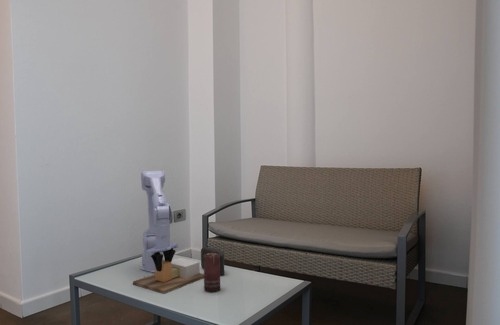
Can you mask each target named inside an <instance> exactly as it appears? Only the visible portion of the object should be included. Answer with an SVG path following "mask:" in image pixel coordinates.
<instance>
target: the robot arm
mask: <svg viewBox="0 0 500 325" xmlns="http://www.w3.org/2000/svg"><path fill="white" fill-rule="evenodd" d="M140 178H141V179H140V180H141V188H142V189H141V190H143V191H145V192H146V195H147V211H148V212H147V213H148V228H147V229H146V230H144V232H143V234H142V235H143V236H142V244H143V245H142V247H143V249H144V250H143V251H142V253H141V268H140V270H142V271H147V272H150V273H154V274H155V266H156V270H157V271H161V270H162V260H164V261H169V262H171V261H172V260H173V258H174V256H175V254H176V249H178V248H179V243H177V242H173V243H171V225H170V224H171V220H172V207H171V205H170V204H169V203H168V200H167V195H166V194H165V193H164V192H163V188H164V186H165V181H166V173H165V171H164V170H163V169H161V170H142V171H141V175H140Z"/></svg>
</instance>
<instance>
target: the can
mask: <svg viewBox="0 0 500 325" xmlns="http://www.w3.org/2000/svg"><path fill="white" fill-rule="evenodd" d="M203 274H204V278H203V288H204V291H205V292H207V293H215V292H216V293H217V292H219V291H220V290H221V275H220V255H219V253H218V252H207V253H205V254H204V268H203Z"/></svg>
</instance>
